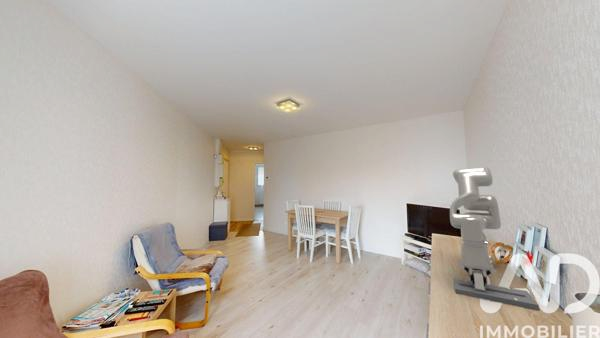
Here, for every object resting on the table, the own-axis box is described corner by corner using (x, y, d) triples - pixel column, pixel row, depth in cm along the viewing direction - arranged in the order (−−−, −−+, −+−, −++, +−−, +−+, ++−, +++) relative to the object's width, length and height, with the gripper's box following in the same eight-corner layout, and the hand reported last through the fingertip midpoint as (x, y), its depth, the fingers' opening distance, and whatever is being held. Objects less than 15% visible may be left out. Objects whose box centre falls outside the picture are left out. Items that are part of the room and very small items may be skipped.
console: (455, 293, 92) (455, 288, 92) (453, 282, 102) (453, 277, 102) (539, 310, 77) (538, 304, 77) (527, 295, 87) (527, 290, 87)
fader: (475, 289, 90) (473, 274, 91) (472, 282, 96) (471, 268, 96) (485, 291, 88) (483, 275, 89) (482, 284, 94) (480, 270, 94)
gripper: (495, 243, 92) (501, 284, 90) (451, 239, 101) (455, 276, 100) (499, 247, 86) (505, 292, 84) (452, 243, 95) (457, 283, 94)
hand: (478, 283), depth 92 cm, fingers closed on fader, 3 cm apart
